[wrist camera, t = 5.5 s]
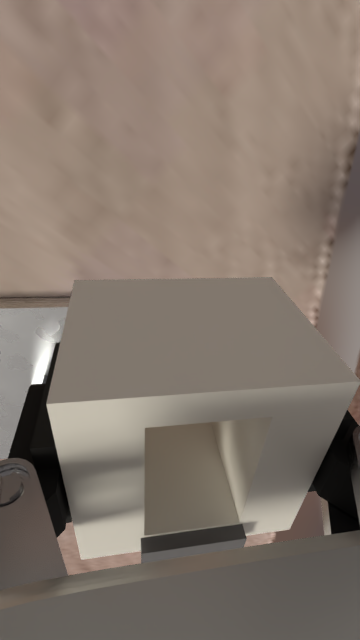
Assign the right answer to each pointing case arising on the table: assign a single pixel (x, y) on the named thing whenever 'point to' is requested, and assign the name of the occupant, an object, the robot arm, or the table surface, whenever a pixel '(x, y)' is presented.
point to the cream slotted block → (190, 413)
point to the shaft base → (25, 354)
